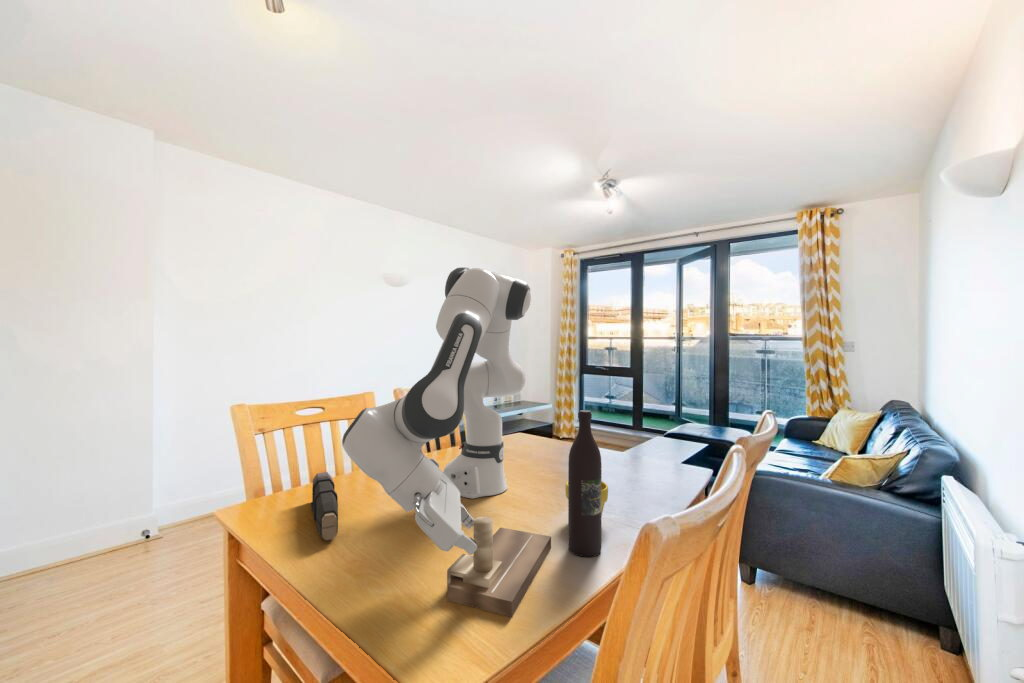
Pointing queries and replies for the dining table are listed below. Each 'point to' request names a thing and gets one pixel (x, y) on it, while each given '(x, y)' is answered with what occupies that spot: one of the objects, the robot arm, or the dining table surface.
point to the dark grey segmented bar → (325, 505)
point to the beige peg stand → (478, 558)
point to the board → (505, 573)
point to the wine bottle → (584, 491)
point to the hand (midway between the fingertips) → (473, 536)
